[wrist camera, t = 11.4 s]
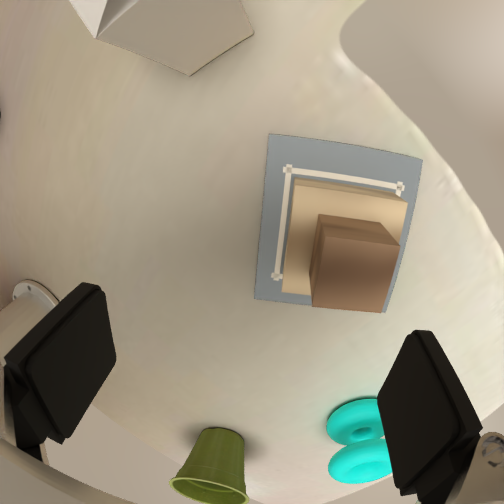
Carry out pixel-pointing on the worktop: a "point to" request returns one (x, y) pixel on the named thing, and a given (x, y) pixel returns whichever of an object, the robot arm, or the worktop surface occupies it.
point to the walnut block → (351, 264)
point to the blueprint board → (325, 169)
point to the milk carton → (168, 28)
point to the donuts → (358, 443)
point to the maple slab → (335, 204)
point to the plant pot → (214, 469)
